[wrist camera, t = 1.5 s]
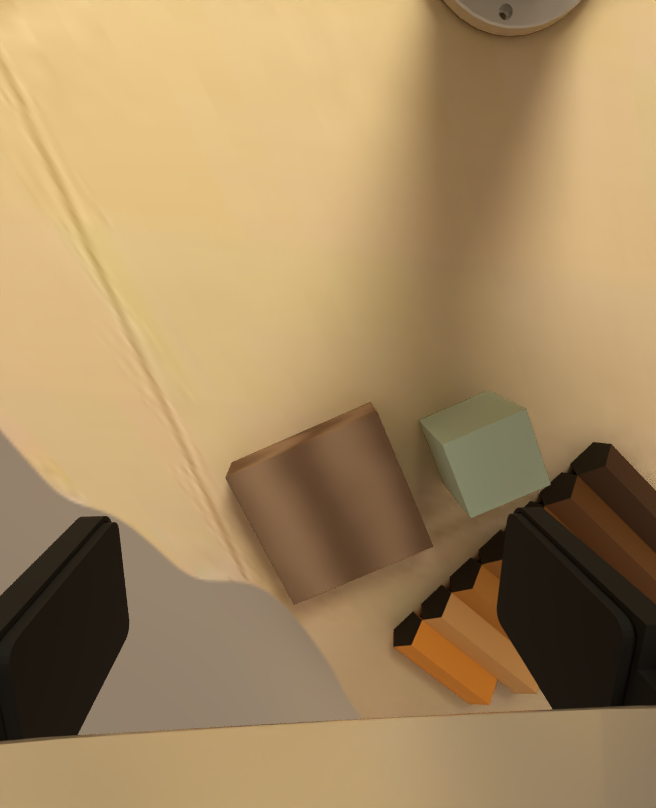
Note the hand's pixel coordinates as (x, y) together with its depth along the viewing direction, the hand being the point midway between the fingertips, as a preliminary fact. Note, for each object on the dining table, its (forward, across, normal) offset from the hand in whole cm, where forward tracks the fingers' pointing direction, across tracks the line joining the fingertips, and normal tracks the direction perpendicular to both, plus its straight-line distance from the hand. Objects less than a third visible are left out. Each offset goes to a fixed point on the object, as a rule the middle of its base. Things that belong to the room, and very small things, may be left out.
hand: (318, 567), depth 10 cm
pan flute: (+24, -25, +22) cm, 42 cm away
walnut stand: (+24, -2, +10) cm, 26 cm away
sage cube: (+24, -13, +5) cm, 27 cm away
